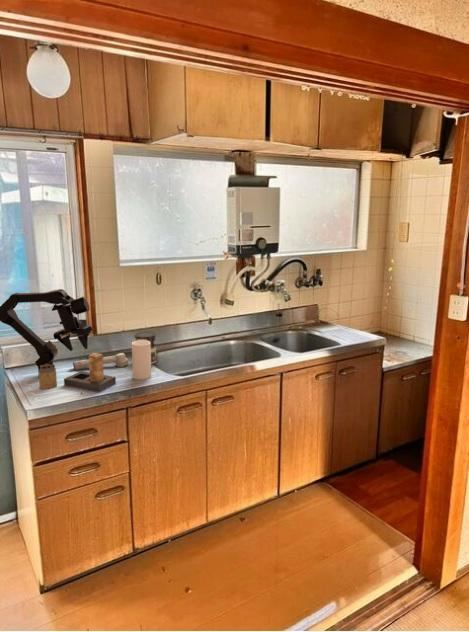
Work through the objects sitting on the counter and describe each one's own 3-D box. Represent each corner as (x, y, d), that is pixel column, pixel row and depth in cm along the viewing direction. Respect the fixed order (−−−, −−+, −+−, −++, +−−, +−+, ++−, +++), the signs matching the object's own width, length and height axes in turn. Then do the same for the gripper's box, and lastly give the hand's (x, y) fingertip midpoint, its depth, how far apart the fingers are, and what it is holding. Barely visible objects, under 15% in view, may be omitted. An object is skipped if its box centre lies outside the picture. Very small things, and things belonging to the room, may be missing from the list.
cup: (132, 379, 206) (131, 345, 203) (133, 373, 214) (132, 340, 211) (151, 379, 207) (150, 344, 204) (151, 373, 215) (150, 339, 212)
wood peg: (90, 386, 198) (88, 355, 194) (96, 383, 201) (94, 352, 198) (98, 388, 196) (96, 356, 193) (104, 385, 200) (102, 354, 197)
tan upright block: (56, 384, 200) (54, 362, 197) (58, 387, 196) (56, 364, 194) (38, 387, 196) (36, 364, 194) (40, 390, 193) (38, 367, 191)
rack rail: (64, 385, 198) (63, 378, 198) (81, 377, 208) (81, 371, 208) (99, 392, 192) (99, 385, 191) (115, 383, 202) (115, 377, 201)
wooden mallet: (72, 360, 220) (125, 349, 227) (75, 373, 222) (128, 362, 229) (72, 363, 215) (126, 352, 222) (75, 377, 217) (129, 365, 224)
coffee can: (154, 357, 238) (154, 331, 235) (157, 363, 228) (156, 336, 225) (134, 359, 235) (133, 332, 232) (136, 365, 225) (135, 337, 222)
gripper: (94, 308, 206) (106, 341, 210) (65, 314, 215) (76, 345, 219) (77, 317, 197) (89, 350, 201) (47, 322, 206) (59, 354, 209)
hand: (79, 349), depth 208 cm, fingers open, 9 cm apart
